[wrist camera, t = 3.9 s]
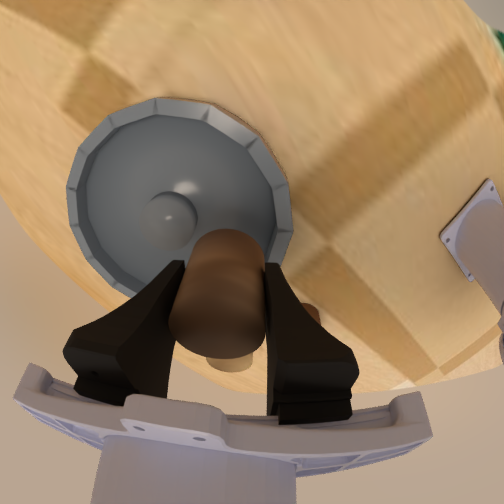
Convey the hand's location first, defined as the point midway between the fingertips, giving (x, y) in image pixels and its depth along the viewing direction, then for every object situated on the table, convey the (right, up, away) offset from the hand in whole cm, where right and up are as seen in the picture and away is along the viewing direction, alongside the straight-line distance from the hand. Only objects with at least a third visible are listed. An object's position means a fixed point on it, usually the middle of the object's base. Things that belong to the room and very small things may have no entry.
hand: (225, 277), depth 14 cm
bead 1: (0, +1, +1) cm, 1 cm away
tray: (-5, +4, +6) cm, 9 cm away
